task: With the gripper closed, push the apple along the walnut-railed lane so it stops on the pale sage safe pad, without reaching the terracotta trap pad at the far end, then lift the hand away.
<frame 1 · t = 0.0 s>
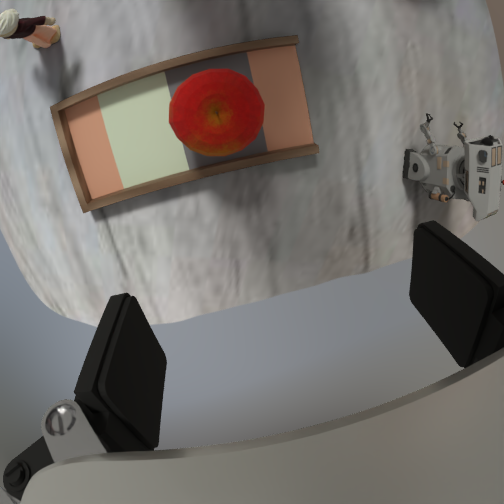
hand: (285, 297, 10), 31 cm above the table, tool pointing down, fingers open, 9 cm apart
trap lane: (184, 118, 35), on the table
figurine: (426, 150, 40), on the table
apple: (216, 110, 35), resting on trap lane
grandmother figurine: (50, 36, 27), on the table
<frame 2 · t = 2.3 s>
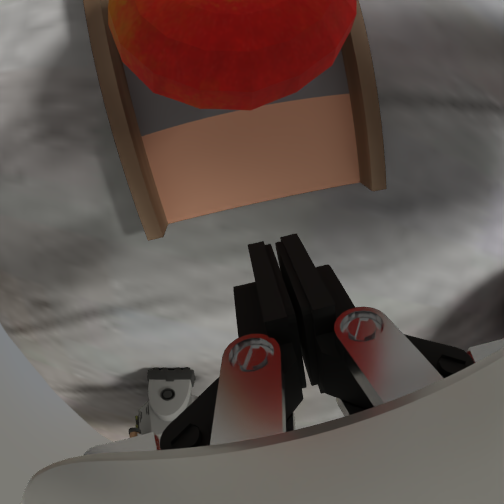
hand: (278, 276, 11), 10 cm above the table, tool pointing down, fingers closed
figurine: (199, 391, 29), on the table
apple: (228, 32, 15), resting on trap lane
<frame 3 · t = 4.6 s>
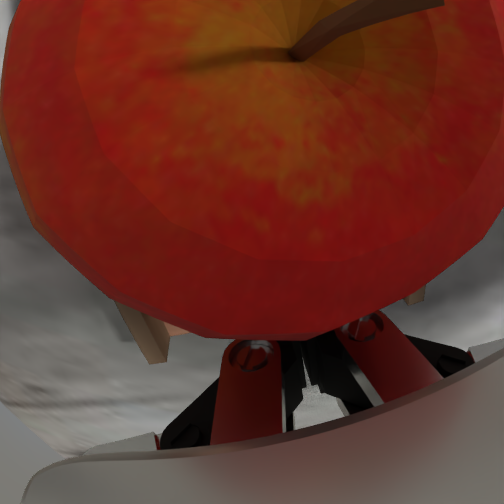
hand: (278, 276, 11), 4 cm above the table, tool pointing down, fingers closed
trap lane: (223, 13, 10), on the table
apple: (238, 94, 12), resting on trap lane, touching gripper
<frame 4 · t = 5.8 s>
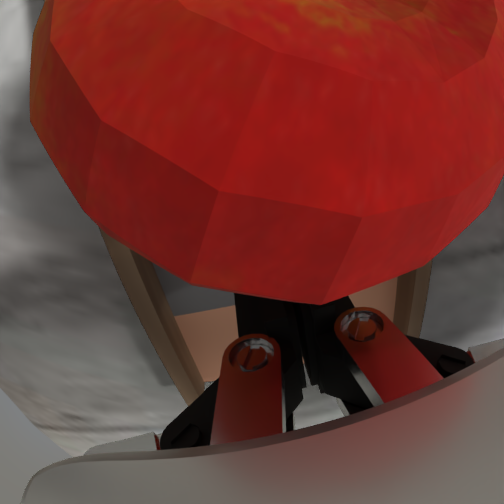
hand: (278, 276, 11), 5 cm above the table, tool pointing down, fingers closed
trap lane: (259, 121, 13), on the table
apple: (254, 126, 12), point 1 cm above the table, touching gripper
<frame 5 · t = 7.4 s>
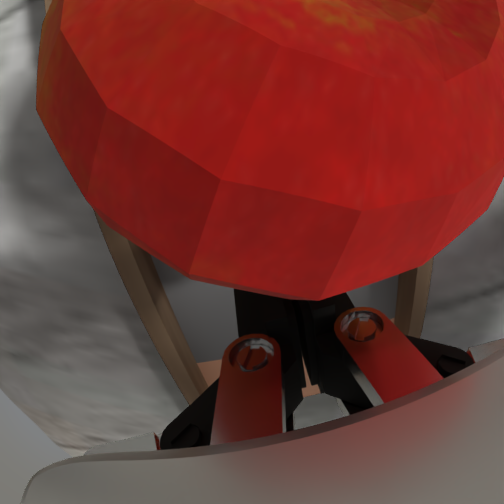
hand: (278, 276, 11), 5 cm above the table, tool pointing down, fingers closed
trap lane: (276, 204, 15), on the table
apple: (258, 125, 12), point 1 cm above the table, touching gripper, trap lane
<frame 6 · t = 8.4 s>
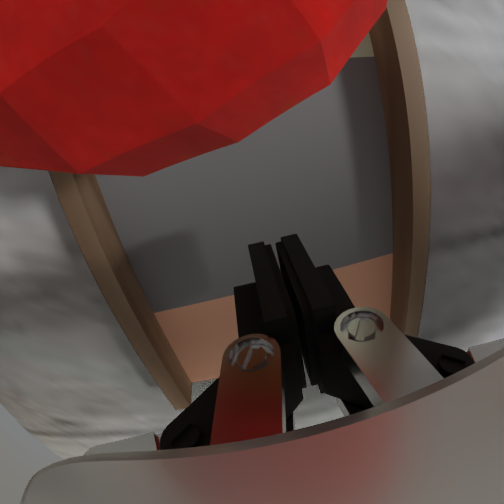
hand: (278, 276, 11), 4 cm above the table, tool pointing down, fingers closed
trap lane: (232, 98, 12), on the table
apple: (207, 13, 9), resting on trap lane
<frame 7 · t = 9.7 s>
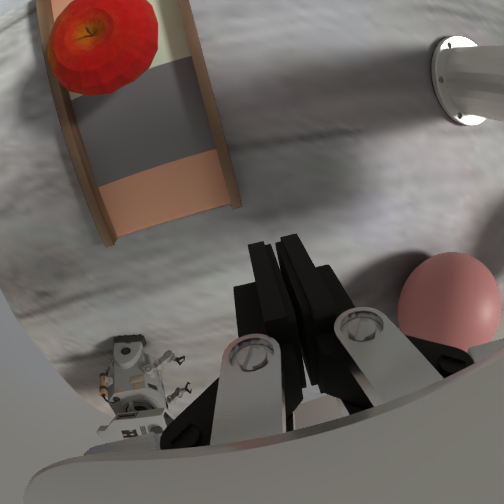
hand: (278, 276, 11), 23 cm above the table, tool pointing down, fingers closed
balloon: (419, 291, 44), on the table
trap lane: (130, 85, 26), on the table
figurine: (151, 355, 41), on the table
apple: (120, 52, 24), resting on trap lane
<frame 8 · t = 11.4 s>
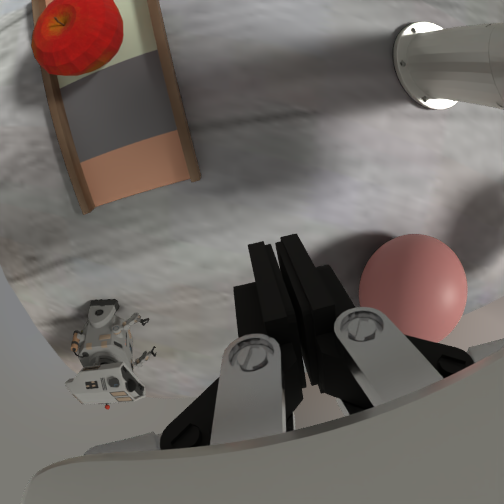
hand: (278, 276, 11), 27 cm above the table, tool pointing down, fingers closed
balloon: (388, 275, 46), on the table
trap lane: (108, 75, 29), on the table
figurine: (124, 320, 44), on the table
apple: (101, 47, 27), resting on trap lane
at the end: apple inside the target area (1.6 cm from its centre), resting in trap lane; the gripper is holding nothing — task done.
